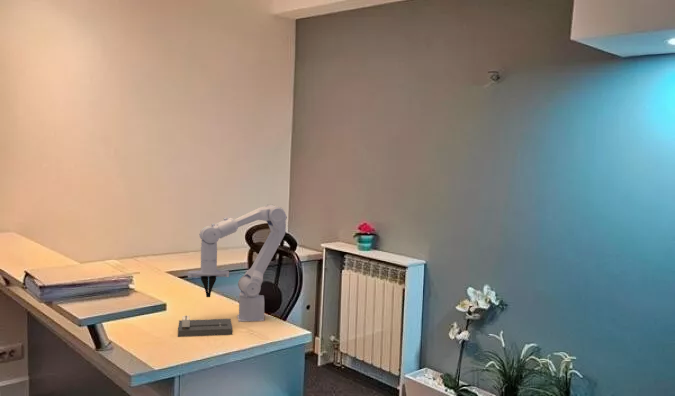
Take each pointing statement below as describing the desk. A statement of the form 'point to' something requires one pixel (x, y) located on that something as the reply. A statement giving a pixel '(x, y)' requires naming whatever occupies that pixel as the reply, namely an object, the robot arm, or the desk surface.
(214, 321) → the fader console
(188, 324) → the fader knob
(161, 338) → the desk surface
